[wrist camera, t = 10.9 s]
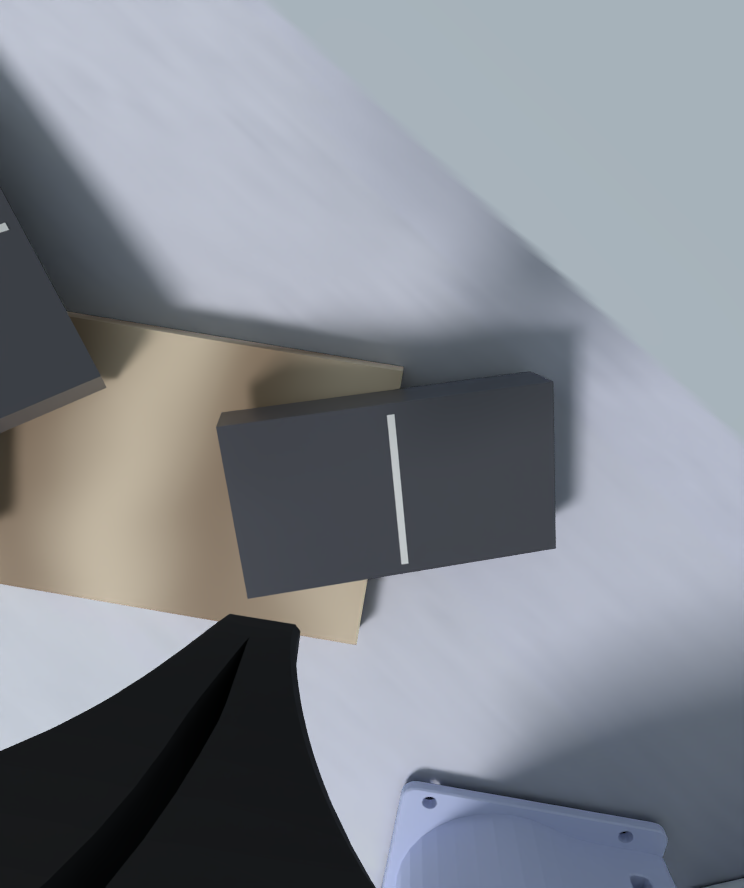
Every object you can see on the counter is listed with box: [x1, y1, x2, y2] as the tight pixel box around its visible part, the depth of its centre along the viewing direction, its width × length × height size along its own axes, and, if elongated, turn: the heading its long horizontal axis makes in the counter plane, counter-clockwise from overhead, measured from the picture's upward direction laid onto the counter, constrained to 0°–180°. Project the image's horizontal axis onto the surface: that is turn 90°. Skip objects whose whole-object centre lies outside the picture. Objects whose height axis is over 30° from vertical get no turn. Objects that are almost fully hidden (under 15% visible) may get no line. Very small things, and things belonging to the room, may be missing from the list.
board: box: [0, 311, 403, 645], centre depth 20 cm, size 21×9×1 cm, turn 81°
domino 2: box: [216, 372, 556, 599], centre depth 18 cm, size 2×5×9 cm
